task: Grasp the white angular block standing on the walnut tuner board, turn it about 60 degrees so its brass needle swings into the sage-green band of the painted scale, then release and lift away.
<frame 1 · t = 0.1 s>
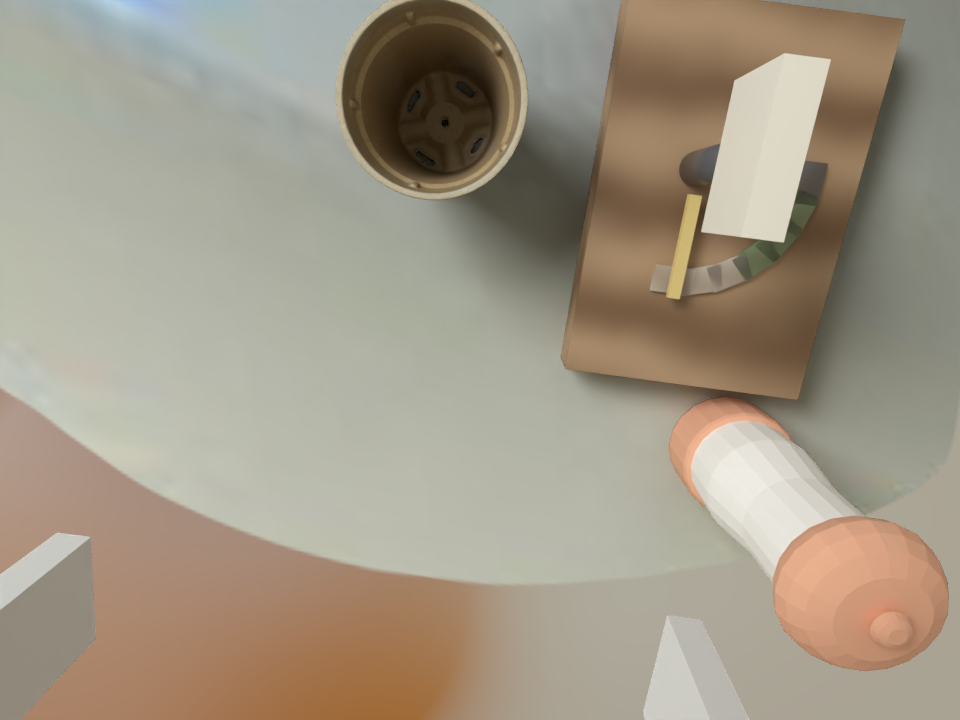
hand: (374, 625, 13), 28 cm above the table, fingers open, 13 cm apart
tuner board: (704, 208, 37), on the table
white angular block: (722, 203, 29), point 9 cm above the table, hinge at 0.0°
flower pot: (447, 124, 37), on the table
salt shaker: (719, 443, 42), on the table
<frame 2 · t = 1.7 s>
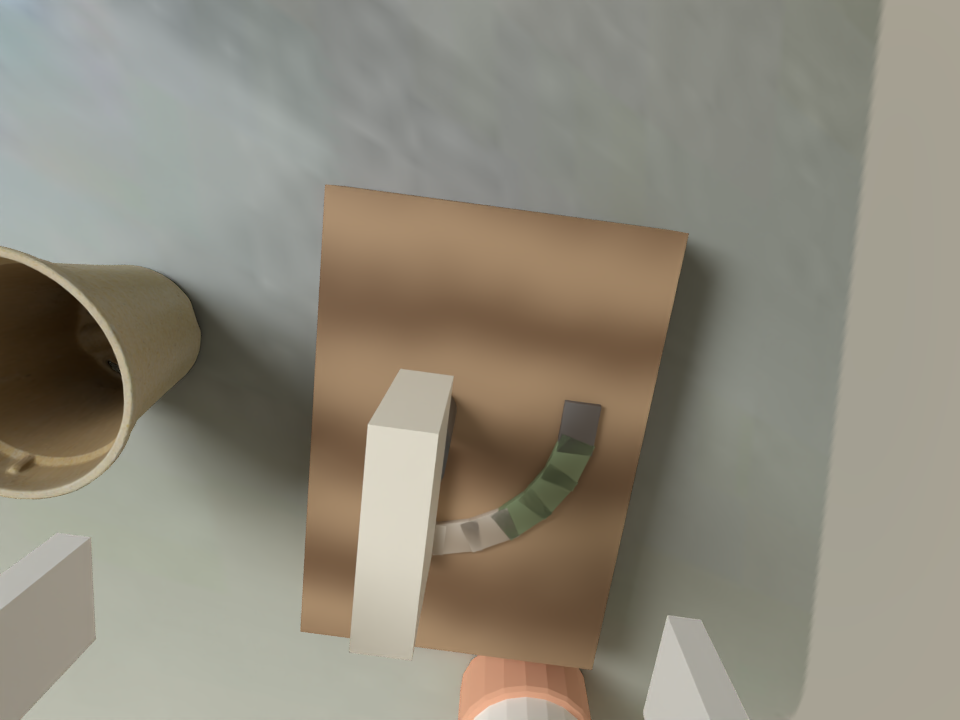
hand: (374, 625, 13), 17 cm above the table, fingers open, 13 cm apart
tuner board: (475, 429, 30), on the table
white angular block: (412, 511, 21), point 9 cm above the table, hinge at 0.0°
flower pot: (145, 326, 29), on the table
salt shaker: (522, 687, 34), on the table
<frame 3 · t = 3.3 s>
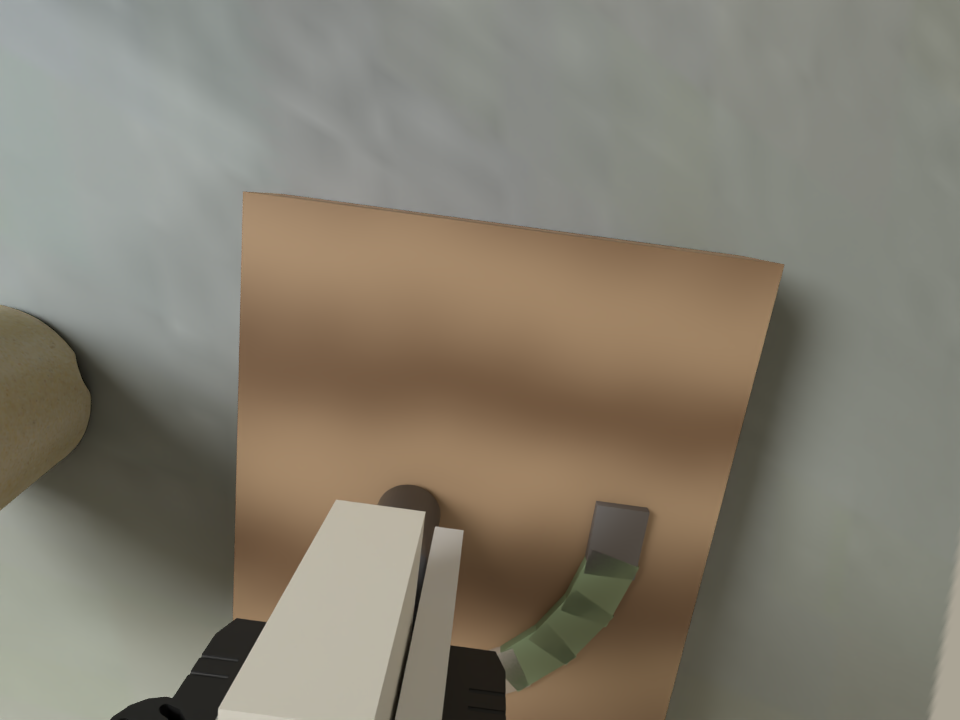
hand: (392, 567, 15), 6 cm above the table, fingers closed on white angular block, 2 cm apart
tuner board: (469, 525, 22), on the table
white angular block: (363, 710, 13), point 9 cm above the table, hinge at 0.0°, touching gripper
flower pot: (16, 386, 21), on the table
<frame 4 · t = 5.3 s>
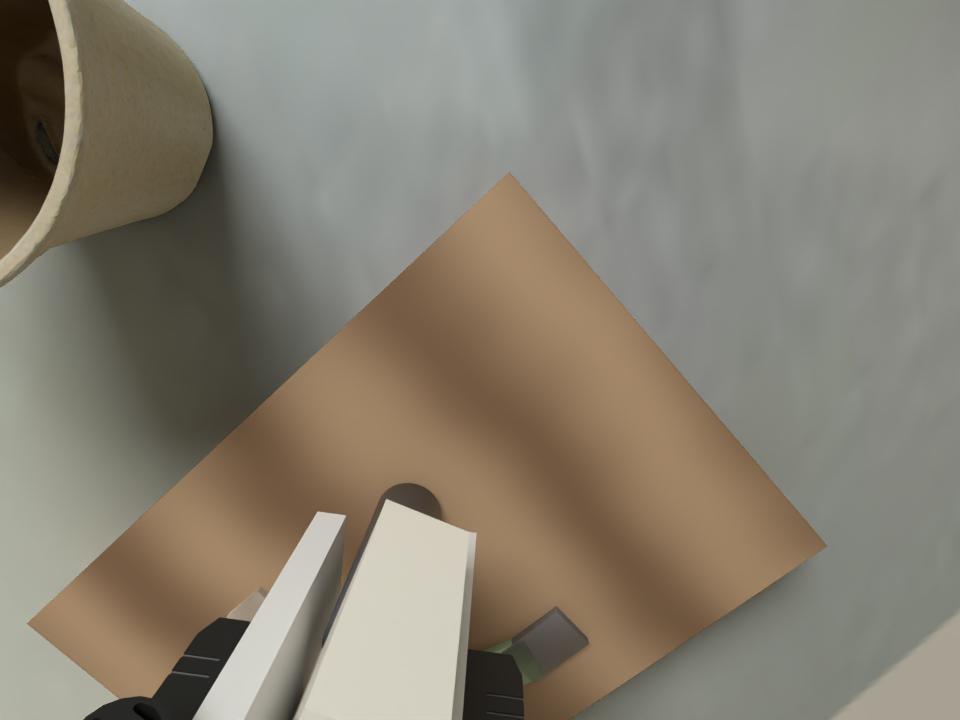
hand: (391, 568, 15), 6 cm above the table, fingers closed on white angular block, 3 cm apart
tuner board: (420, 536, 22), on the table
white angular block: (341, 702, 13), point 9 cm above the table, hinge at 24.8°, touching gripper
flower pot: (126, 123, 19), on the table
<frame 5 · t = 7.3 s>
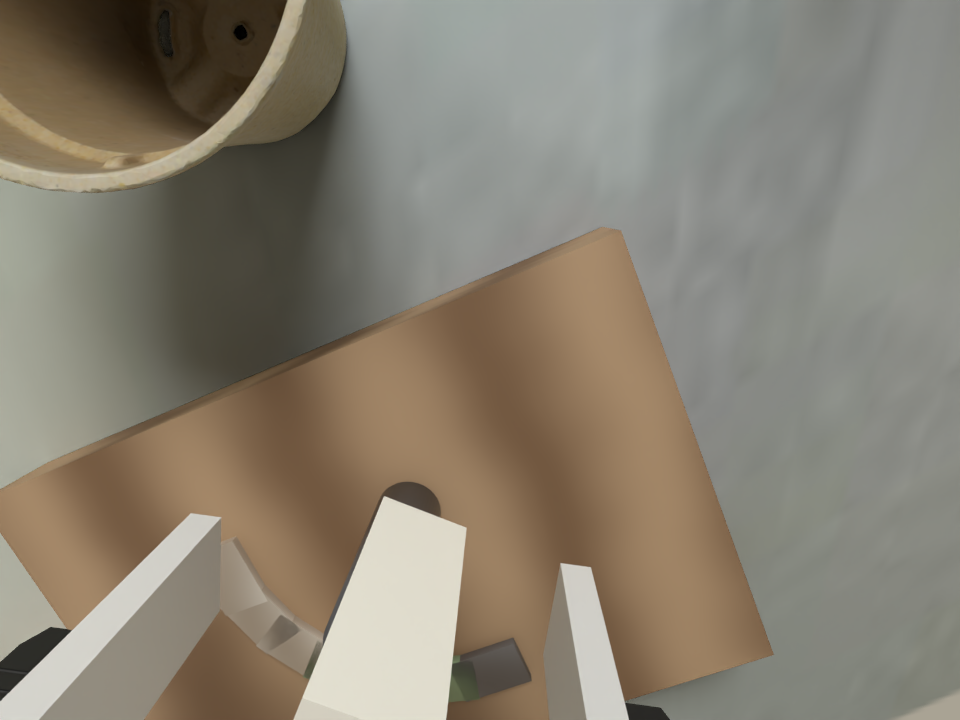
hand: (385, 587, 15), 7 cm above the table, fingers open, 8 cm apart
tuner board: (396, 530, 22), on the table
white angular block: (343, 698, 14), point 9 cm above the table, hinge at 44.6°
flower pot: (253, 42, 18), on the table
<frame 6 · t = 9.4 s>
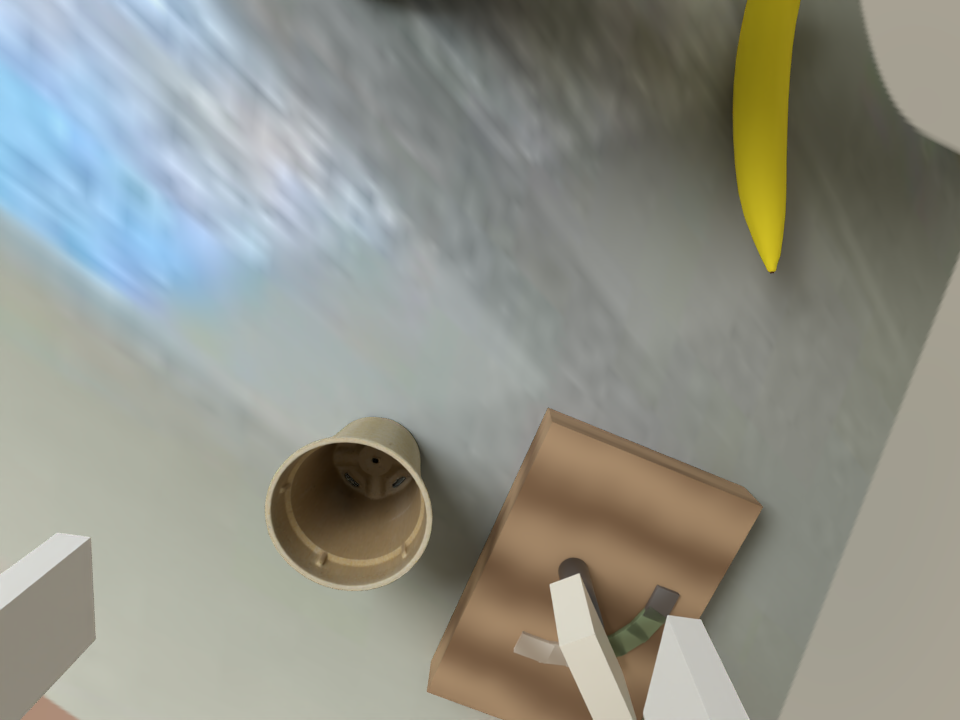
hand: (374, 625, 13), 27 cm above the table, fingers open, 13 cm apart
banana: (745, 111, 36), on the table
tuner board: (580, 577, 43), on the table
white angular block: (597, 652, 34), point 9 cm above the table, hinge at 45.7°
flower pot: (378, 456, 41), on the table
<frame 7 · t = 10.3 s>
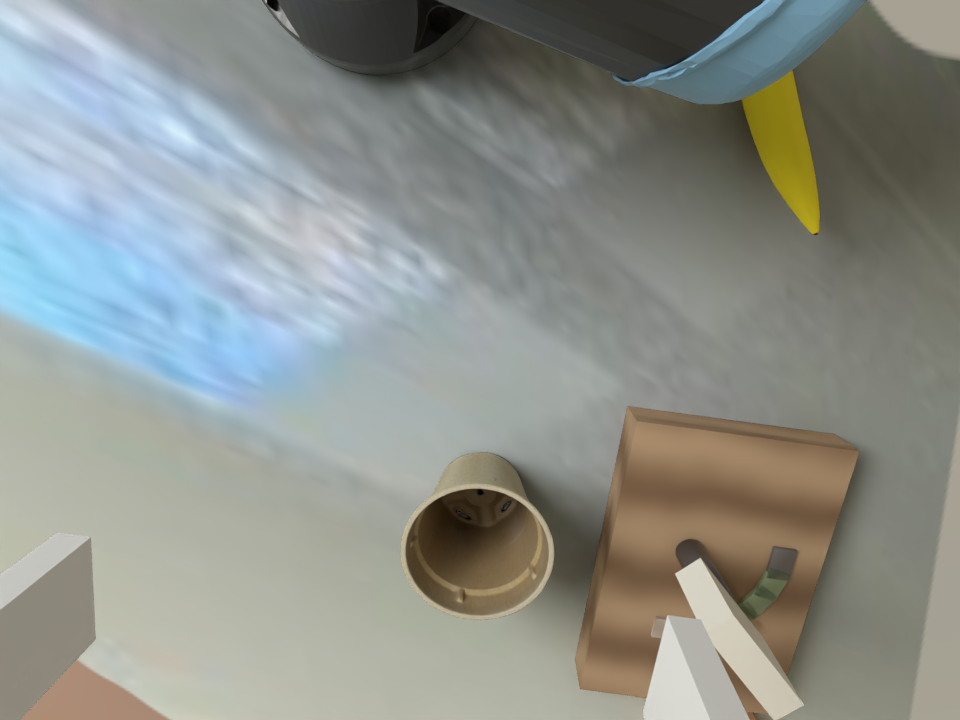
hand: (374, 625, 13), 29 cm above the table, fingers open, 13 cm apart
banana: (750, 82, 36), on the table
tuner board: (696, 554, 45), on the table
white angular block: (734, 624, 36), point 9 cm above the table, hinge at 45.8°
flower pot: (481, 487, 44), on the table
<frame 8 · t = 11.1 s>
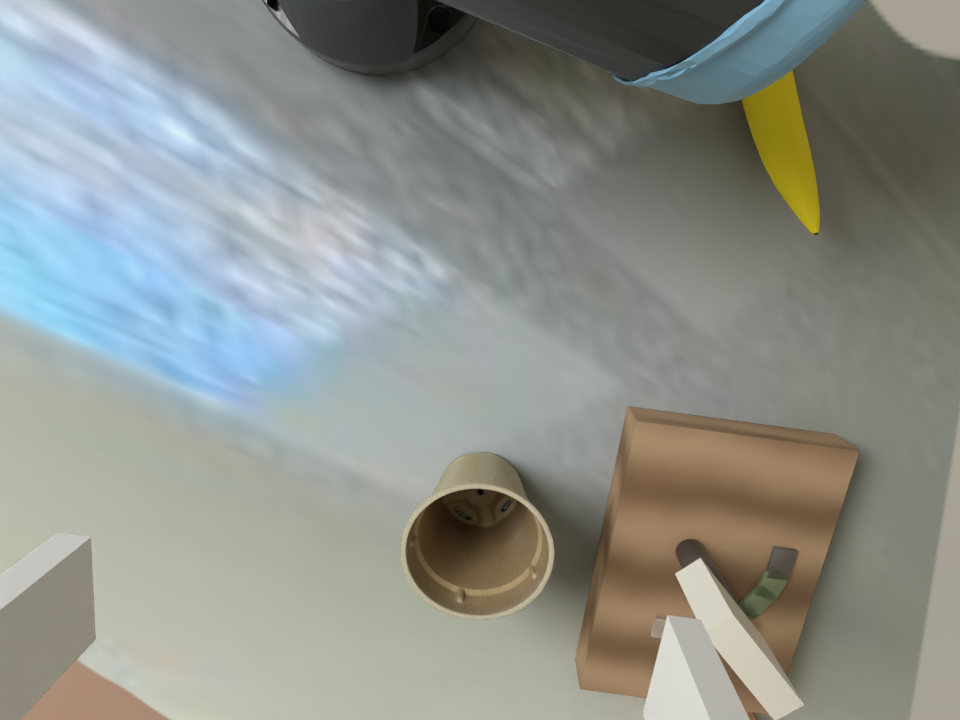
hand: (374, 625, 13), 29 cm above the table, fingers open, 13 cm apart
banana: (750, 82, 36), on the table
tuner board: (696, 554, 45), on the table
white angular block: (735, 624, 36), point 9 cm above the table, hinge at 45.8°
flower pot: (482, 487, 44), on the table
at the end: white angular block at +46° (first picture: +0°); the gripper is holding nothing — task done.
